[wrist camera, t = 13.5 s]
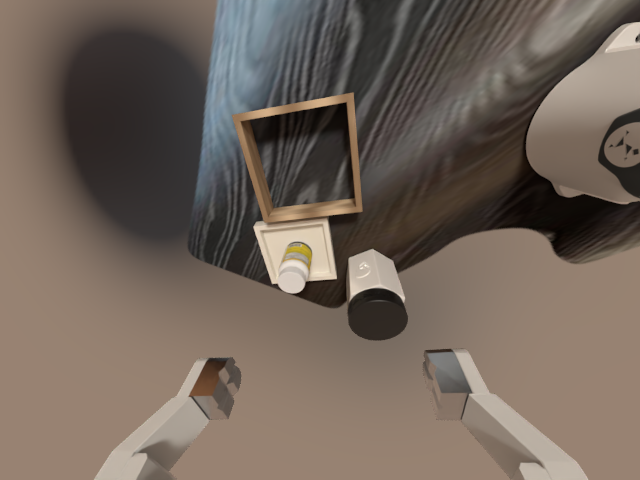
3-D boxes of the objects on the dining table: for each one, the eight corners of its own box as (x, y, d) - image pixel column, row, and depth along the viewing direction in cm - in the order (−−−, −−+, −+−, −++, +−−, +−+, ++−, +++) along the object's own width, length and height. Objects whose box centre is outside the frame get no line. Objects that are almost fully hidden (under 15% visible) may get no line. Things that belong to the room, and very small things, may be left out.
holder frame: (351, 93, 30) (353, 92, 27) (360, 202, 37) (362, 211, 34) (241, 113, 32) (231, 115, 29) (270, 213, 39) (264, 222, 36)
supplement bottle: (302, 267, 44) (294, 300, 36) (280, 252, 42) (268, 284, 35) (318, 250, 41) (313, 282, 34) (296, 234, 40) (286, 264, 33)
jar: (384, 242, 40) (399, 291, 30) (400, 276, 44) (418, 331, 34) (336, 260, 43) (335, 312, 33) (355, 292, 47) (359, 347, 36)
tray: (327, 213, 38) (327, 218, 37) (336, 272, 44) (336, 278, 43) (256, 221, 40) (253, 226, 39) (274, 277, 46) (272, 283, 44)
